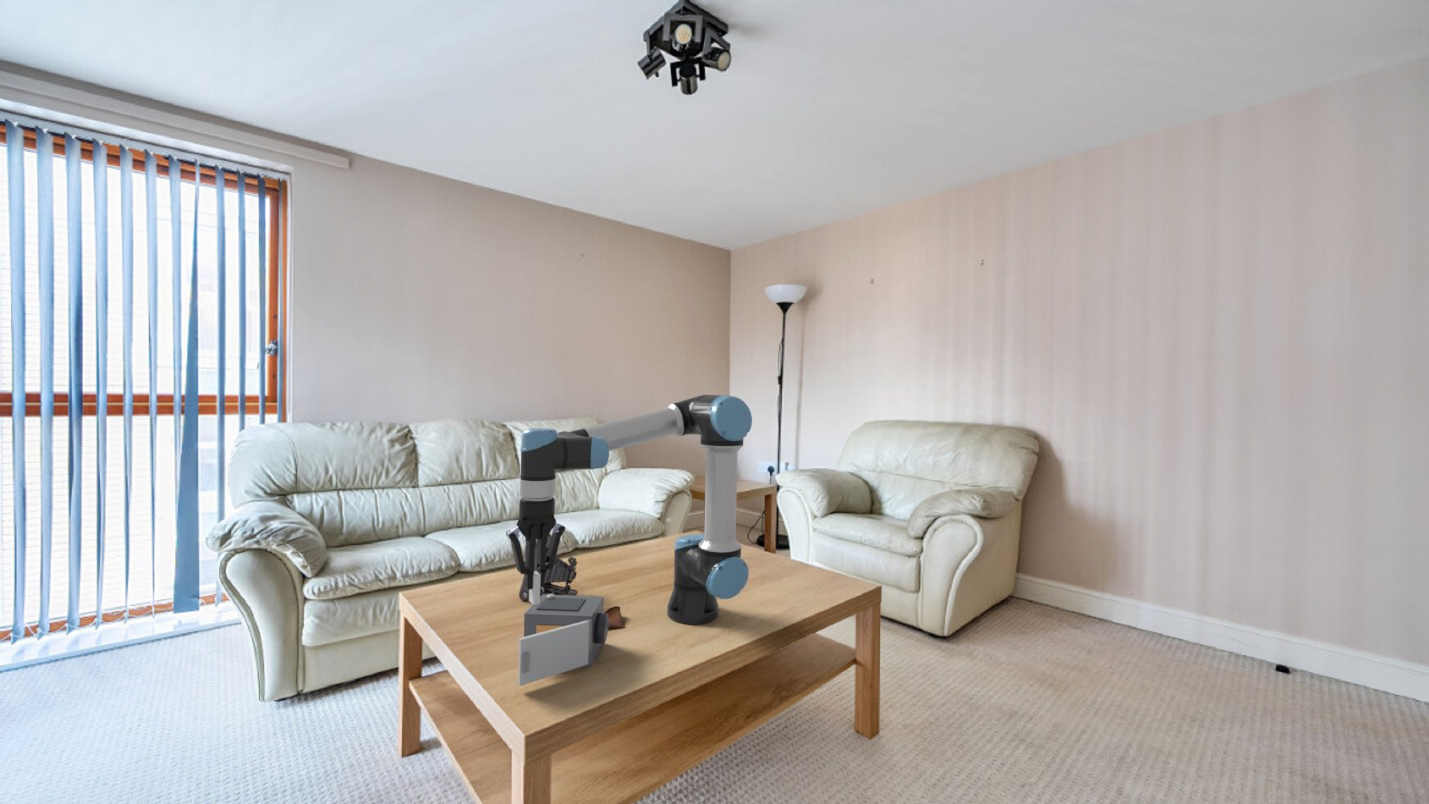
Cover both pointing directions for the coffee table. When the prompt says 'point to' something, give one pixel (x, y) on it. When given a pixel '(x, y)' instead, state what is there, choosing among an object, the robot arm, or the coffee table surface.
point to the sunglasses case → (614, 617)
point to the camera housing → (568, 616)
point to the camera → (553, 576)
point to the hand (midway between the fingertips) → (534, 602)
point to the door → (554, 651)
